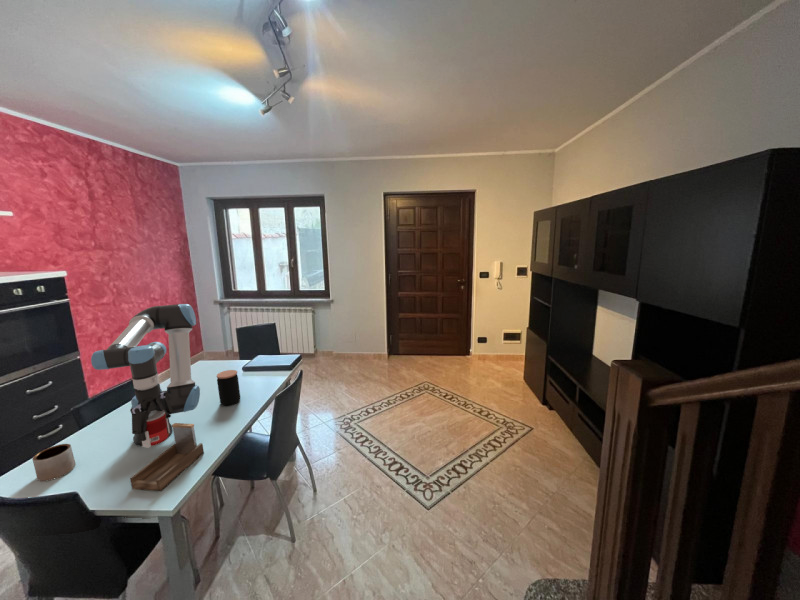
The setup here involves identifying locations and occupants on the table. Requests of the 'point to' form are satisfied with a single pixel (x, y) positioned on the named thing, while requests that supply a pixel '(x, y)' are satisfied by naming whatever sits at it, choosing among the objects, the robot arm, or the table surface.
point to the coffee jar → (228, 387)
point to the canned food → (157, 427)
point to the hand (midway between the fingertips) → (156, 439)
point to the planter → (54, 462)
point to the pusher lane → (164, 469)
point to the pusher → (184, 437)
